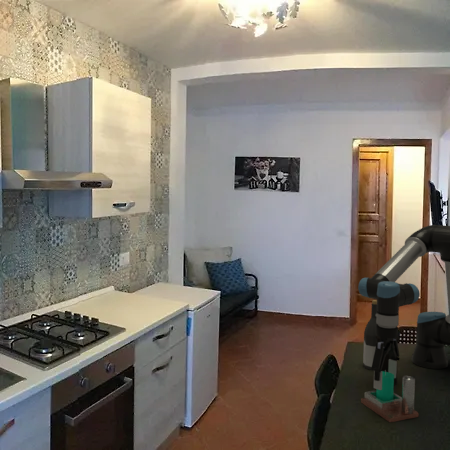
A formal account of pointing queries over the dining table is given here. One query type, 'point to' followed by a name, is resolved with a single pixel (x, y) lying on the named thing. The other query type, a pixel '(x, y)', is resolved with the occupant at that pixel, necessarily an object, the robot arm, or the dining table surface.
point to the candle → (386, 387)
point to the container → (387, 361)
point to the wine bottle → (370, 338)
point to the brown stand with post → (394, 402)
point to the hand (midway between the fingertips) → (385, 382)
